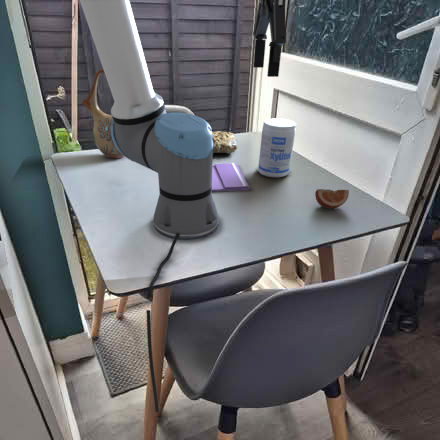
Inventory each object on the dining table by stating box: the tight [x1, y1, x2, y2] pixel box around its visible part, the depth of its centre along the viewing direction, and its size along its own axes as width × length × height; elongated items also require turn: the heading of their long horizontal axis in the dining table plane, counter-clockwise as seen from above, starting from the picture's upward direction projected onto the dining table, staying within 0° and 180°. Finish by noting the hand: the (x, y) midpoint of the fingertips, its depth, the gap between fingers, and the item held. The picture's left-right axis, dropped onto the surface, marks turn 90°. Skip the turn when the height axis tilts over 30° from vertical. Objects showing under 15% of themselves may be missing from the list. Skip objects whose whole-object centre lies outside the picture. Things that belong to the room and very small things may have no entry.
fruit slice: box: [314, 188, 350, 209], centre depth 100 cm, size 8×7×5 cm
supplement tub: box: [257, 117, 297, 179], centre depth 115 cm, size 10×10×15 cm
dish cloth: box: [212, 162, 250, 193], centre depth 114 cm, size 18×13×1 cm
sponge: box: [212, 130, 238, 154], centre depth 128 cm, size 13×8×20 cm
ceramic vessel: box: [80, 68, 125, 159], centre depth 118 cm, size 16×9×25 cm, turn 90°
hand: (265, 71), depth 104 cm, fingers open, 13 cm apart
